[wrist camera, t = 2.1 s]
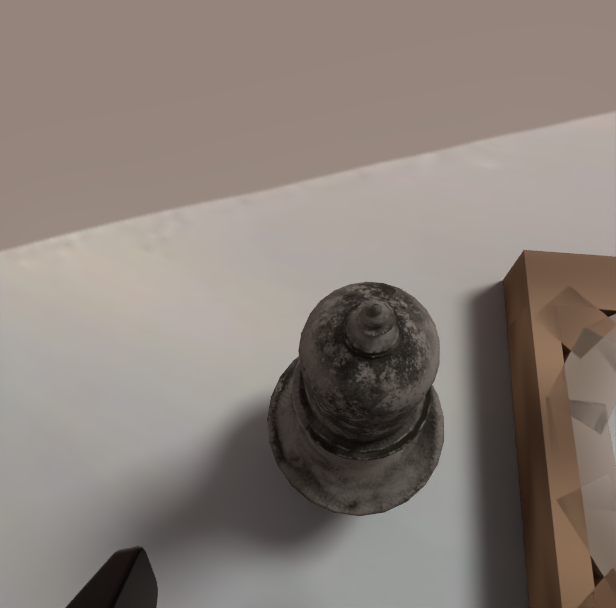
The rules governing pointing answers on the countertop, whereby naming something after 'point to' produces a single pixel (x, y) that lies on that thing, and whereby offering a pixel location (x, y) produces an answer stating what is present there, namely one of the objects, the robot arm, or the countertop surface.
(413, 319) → the grey chess piece
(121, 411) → the countertop surface
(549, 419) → the bore block
